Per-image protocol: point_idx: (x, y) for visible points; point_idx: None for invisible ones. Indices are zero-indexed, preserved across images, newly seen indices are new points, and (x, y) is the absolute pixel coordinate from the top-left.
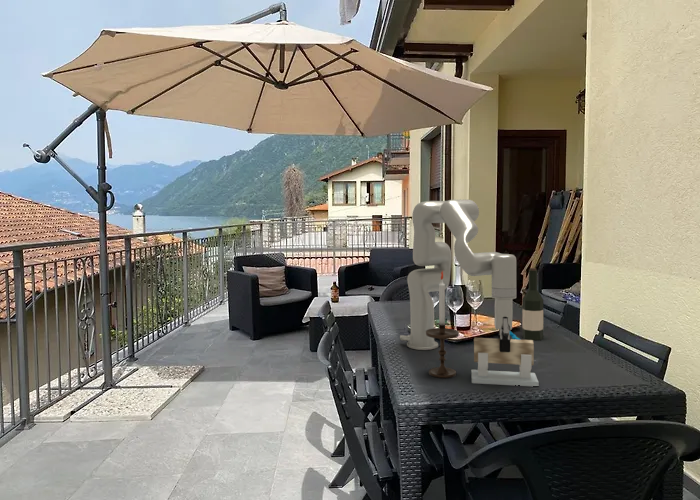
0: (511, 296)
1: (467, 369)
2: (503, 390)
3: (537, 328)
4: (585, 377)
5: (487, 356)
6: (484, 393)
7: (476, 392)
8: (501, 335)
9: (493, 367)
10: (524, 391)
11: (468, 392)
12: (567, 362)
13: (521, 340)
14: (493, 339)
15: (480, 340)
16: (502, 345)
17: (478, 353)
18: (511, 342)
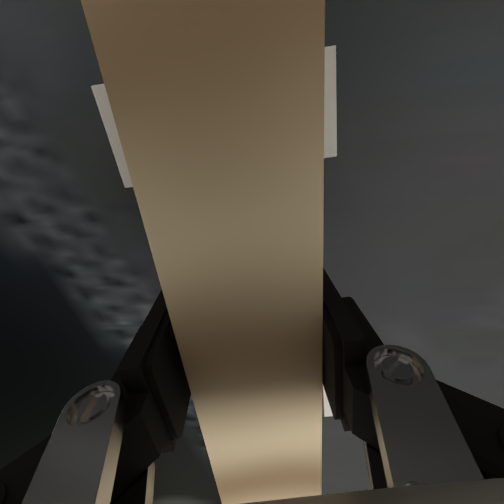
0: None
1: (386, 10)
2: (121, 233)
3: None
4: (344, 433)
5: None
6: (41, 161)
7: (30, 121)
8: (50, 457)
9: (432, 165)
10: (148, 301)
11: (5, 79)
12: (495, 402)
13: (293, 470)
14: (267, 266)
15: (132, 80)
16: (130, 346)
17: (95, 89)
18: (199, 420)
